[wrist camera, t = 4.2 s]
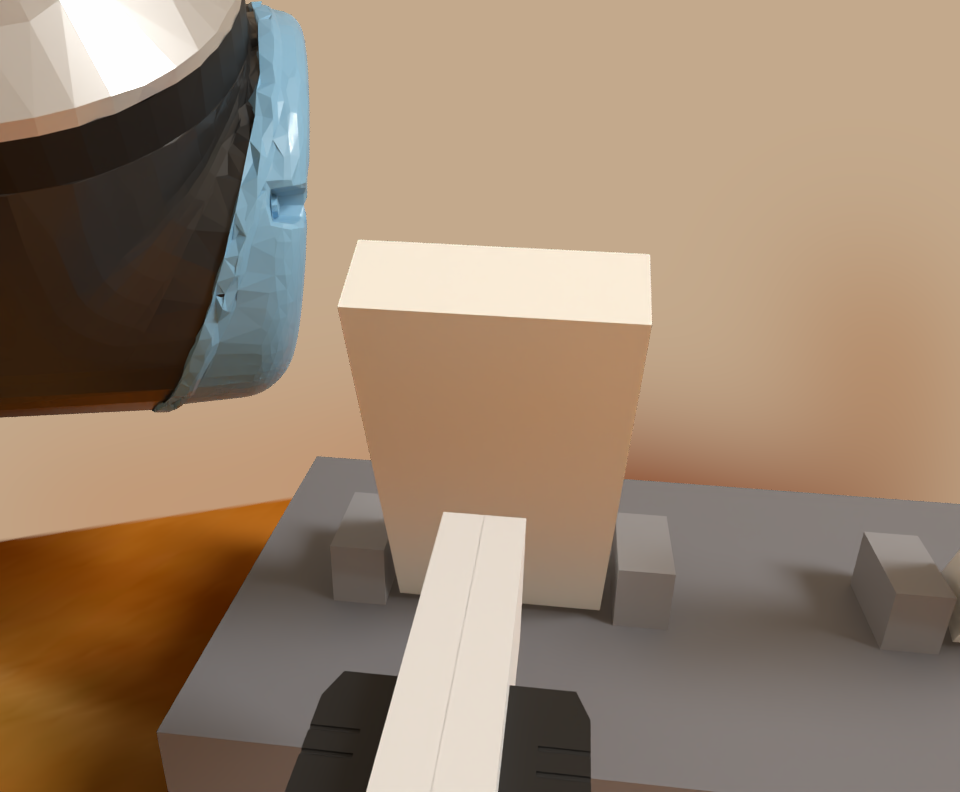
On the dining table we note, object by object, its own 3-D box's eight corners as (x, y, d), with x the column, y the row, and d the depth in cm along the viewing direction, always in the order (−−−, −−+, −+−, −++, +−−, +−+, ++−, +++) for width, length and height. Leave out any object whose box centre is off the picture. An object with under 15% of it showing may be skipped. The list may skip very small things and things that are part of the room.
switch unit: (1448, 1046, 21) (1651, 821, 17) (187, 889, 23) (144, 670, 20) (1119, 648, 33) (1198, 472, 30) (325, 578, 36) (313, 411, 33)
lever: (599, 610, 25) (652, 325, 16) (400, 592, 25) (337, 306, 16) (601, 550, 26) (650, 254, 17) (410, 535, 27) (358, 239, 18)
